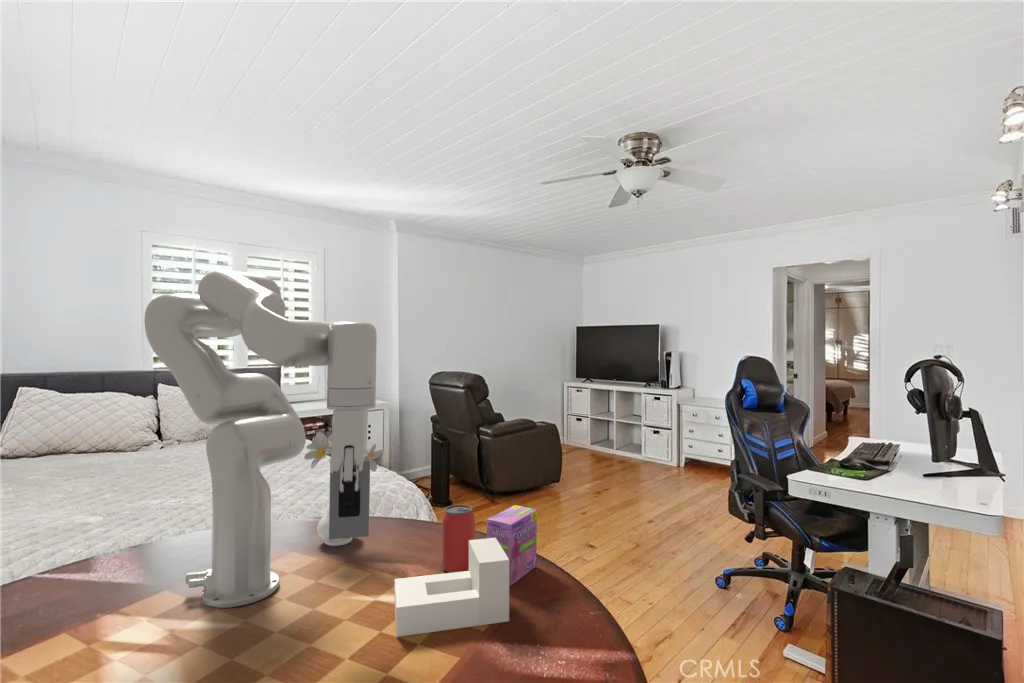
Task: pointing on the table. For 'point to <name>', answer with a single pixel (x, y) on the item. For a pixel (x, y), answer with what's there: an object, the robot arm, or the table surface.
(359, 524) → the gray rectangular block
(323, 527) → the flower vase
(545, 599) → the table surface
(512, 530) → the box
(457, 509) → the beer can
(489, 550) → the post block
